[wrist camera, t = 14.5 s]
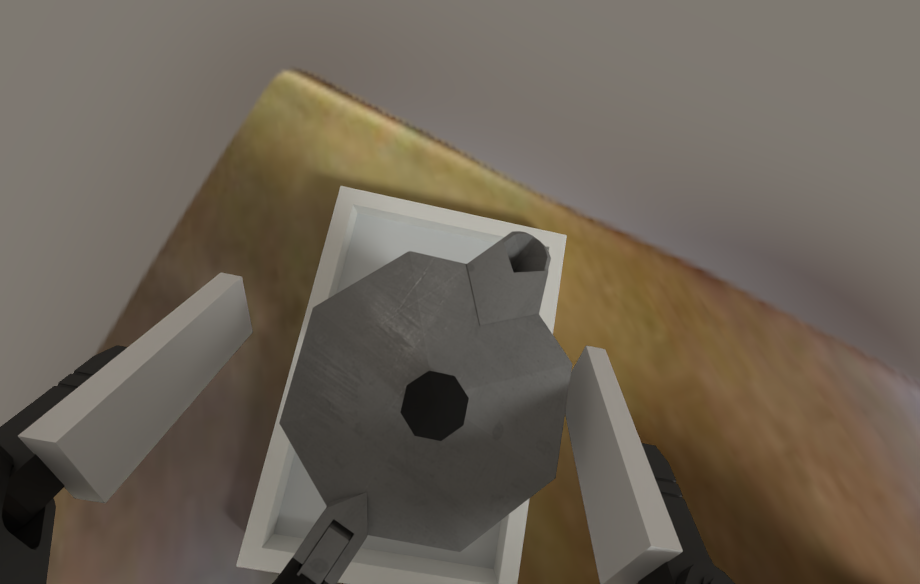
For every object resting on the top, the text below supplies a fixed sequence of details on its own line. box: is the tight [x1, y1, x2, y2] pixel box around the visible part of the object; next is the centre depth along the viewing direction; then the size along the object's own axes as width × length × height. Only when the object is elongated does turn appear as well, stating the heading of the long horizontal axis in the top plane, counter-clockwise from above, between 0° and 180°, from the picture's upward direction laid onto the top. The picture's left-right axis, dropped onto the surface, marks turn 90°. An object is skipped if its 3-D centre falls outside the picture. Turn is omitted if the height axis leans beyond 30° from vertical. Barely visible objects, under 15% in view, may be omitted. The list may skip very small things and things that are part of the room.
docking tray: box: [236, 186, 567, 584], centre depth 25 cm, size 17×25×2 cm
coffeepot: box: [272, 231, 572, 584], centre depth 17 cm, size 15×9×18 cm, turn 146°
